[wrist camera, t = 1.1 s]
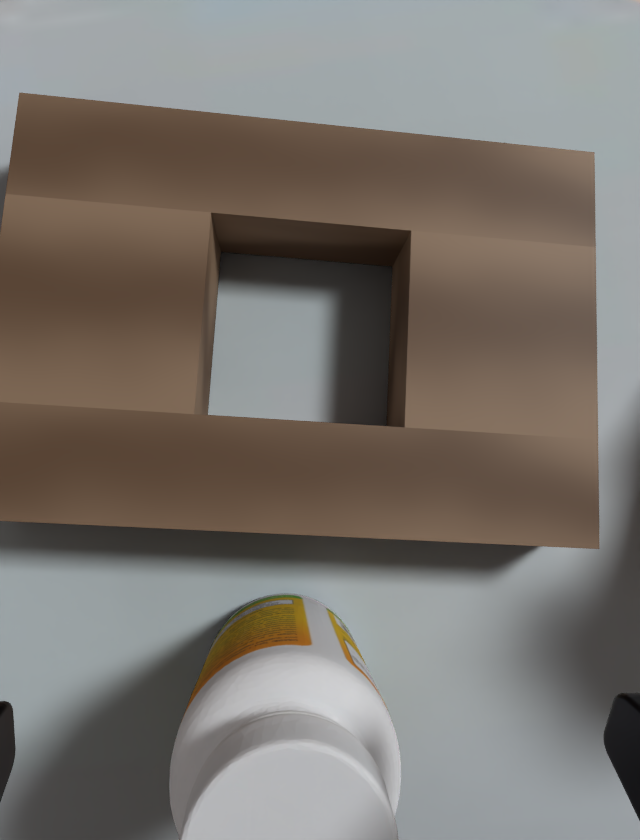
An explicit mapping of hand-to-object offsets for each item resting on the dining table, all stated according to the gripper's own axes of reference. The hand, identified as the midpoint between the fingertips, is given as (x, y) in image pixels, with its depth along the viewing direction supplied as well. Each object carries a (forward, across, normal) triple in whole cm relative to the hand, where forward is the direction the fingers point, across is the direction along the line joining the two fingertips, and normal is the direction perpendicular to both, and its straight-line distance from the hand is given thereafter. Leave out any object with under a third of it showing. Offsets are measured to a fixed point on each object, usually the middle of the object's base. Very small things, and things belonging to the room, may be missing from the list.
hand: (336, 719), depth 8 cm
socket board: (+14, 0, -4) cm, 15 cm away
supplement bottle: (+10, 0, +7) cm, 12 cm away
